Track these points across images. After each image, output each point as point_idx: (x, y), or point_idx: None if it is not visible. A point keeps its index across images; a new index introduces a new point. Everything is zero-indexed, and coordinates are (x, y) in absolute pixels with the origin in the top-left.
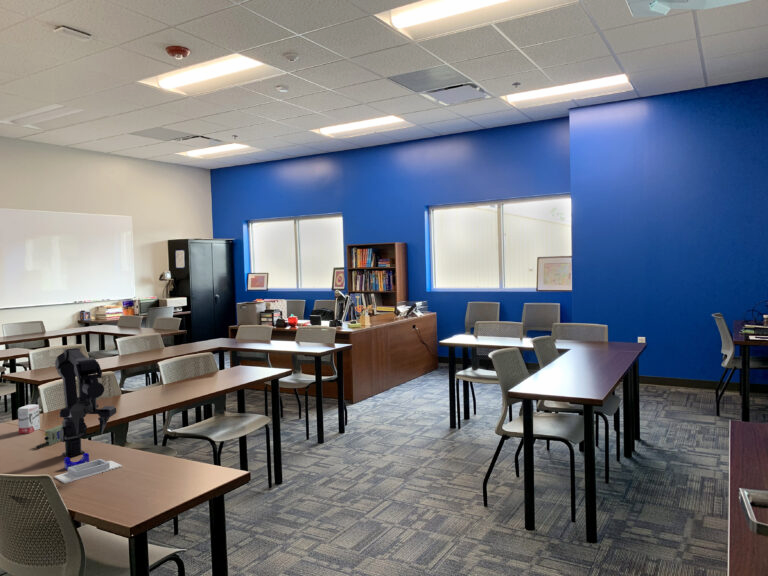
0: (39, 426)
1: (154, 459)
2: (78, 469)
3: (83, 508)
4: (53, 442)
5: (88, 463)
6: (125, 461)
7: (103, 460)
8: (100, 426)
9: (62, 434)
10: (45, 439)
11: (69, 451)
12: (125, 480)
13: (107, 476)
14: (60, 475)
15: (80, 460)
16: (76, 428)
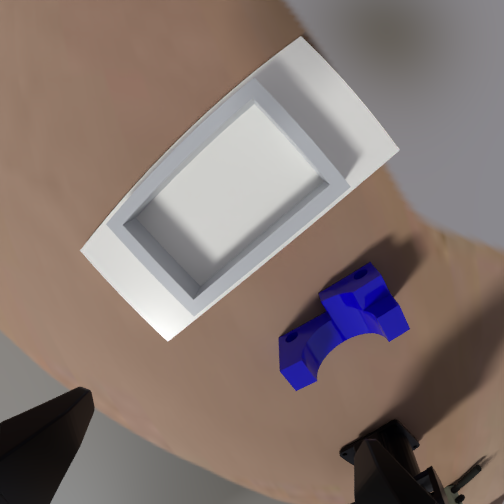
0: None
1: (15, 312)
2: (290, 210)
3: None
4: None
5: (243, 256)
6: (106, 325)
7: (160, 279)
8: (18, 434)
9: (442, 493)
10: (462, 495)
11: (396, 443)
12: (25, 67)
13: (101, 114)
14: (370, 149)
15: (323, 345)
16: (377, 494)
